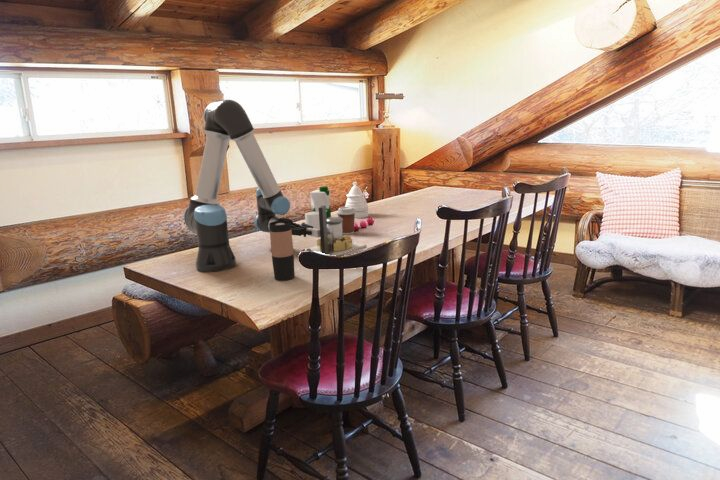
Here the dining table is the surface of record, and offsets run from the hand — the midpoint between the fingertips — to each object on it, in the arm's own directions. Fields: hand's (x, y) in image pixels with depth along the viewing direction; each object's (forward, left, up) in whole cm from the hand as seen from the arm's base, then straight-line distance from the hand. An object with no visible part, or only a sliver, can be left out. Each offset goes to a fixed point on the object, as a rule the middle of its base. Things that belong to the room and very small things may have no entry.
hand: (318, 233), depth 207 cm
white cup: (+28, +35, -11) cm, 46 cm away
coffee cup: (+38, +23, -11) cm, 46 cm away
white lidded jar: (+14, +6, -11) cm, 18 cm away
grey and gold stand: (+11, +3, -9) cm, 15 cm away
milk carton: (+41, +44, -11) cm, 61 cm away
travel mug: (-23, -7, -11) cm, 27 cm away
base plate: (+14, +7, -11) cm, 19 cm away
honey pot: (+69, +47, -11) cm, 84 cm away
